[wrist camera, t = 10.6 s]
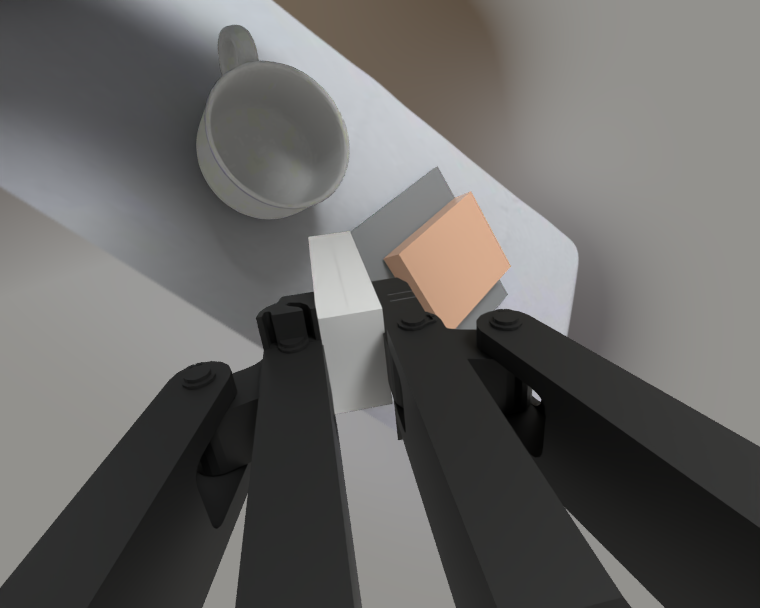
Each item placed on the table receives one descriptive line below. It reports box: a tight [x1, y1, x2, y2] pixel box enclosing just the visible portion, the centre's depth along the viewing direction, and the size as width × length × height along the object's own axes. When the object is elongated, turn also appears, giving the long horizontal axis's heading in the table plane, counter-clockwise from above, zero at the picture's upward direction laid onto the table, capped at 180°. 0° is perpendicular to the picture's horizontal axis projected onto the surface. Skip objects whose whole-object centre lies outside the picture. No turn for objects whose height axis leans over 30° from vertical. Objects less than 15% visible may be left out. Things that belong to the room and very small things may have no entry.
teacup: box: [196, 25, 349, 219], centre depth 35 cm, size 14×11×8 cm
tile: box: [384, 192, 511, 329], centre depth 48 cm, size 10×3×13 cm
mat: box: [350, 167, 508, 329], centre depth 49 cm, size 18×18×1 cm
